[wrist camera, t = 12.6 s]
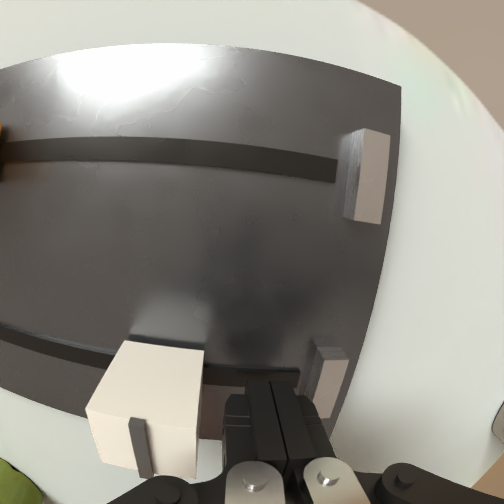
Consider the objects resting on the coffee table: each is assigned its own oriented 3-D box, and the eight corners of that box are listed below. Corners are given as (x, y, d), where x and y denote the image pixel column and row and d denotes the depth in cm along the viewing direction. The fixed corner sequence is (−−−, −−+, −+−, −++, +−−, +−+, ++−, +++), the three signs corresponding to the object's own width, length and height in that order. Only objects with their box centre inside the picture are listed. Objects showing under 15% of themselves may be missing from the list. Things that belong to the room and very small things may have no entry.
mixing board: (378, 98, 11) (415, 80, 8) (319, 413, 14) (334, 451, 11) (-32, 95, 9) (-64, 87, 6) (-24, 352, 12) (-49, 373, 9)
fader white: (204, 349, 10) (195, 434, 6) (201, 402, 11) (195, 485, 7) (124, 339, 10) (81, 413, 6) (129, 392, 10) (100, 468, 6)
